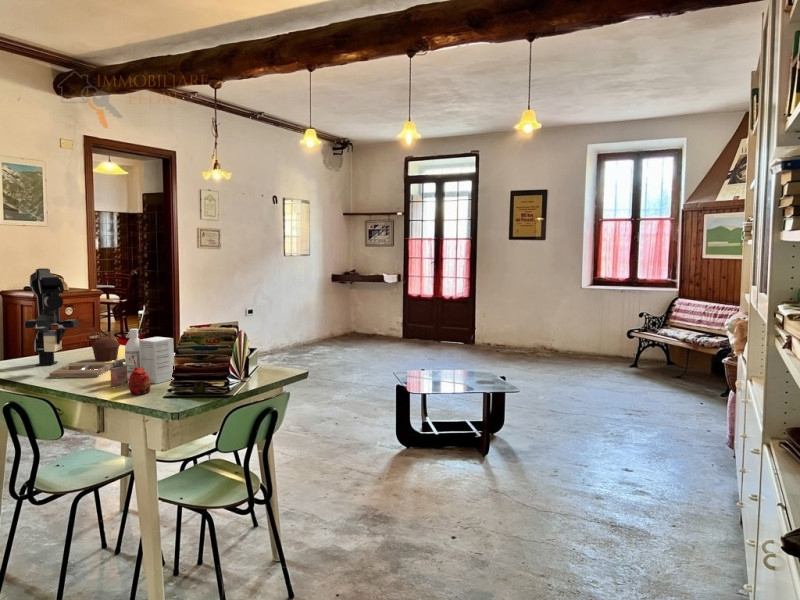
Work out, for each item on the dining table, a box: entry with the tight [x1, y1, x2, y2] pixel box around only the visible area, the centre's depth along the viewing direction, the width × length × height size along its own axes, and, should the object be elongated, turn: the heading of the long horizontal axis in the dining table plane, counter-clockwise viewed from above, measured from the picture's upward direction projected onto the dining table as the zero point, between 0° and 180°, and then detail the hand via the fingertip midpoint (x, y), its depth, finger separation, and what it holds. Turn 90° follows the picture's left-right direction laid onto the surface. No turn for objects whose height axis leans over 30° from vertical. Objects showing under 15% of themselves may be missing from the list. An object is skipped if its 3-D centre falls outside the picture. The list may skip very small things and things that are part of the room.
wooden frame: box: [48, 361, 114, 379], centre depth 229 cm, size 19×18×2 cm
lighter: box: [109, 358, 129, 388], centre depth 210 cm, size 8×3×10 cm, turn 168°
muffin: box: [91, 337, 121, 362], centre depth 254 cm, size 12×11×10 cm
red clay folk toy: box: [128, 353, 152, 396], centre depth 199 cm, size 8×7×15 cm
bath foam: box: [124, 328, 141, 380], centre depth 221 cm, size 7×7×20 cm
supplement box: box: [139, 336, 175, 384], centre depth 218 cm, size 10×9×17 cm
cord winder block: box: [43, 329, 63, 353], centre depth 226 cm, size 6×4×8 cm, turn 8°
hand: (52, 344), depth 227 cm, fingers closed on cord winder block, 4 cm apart
